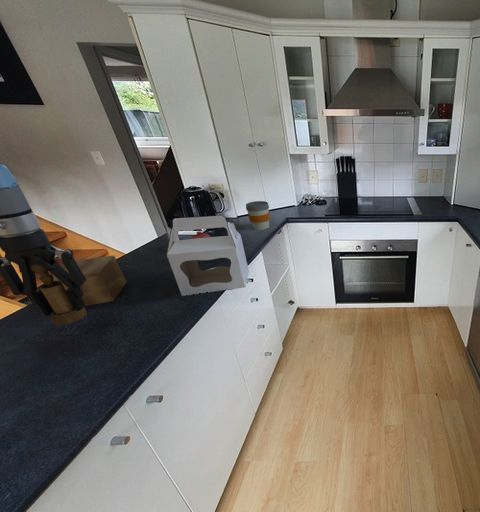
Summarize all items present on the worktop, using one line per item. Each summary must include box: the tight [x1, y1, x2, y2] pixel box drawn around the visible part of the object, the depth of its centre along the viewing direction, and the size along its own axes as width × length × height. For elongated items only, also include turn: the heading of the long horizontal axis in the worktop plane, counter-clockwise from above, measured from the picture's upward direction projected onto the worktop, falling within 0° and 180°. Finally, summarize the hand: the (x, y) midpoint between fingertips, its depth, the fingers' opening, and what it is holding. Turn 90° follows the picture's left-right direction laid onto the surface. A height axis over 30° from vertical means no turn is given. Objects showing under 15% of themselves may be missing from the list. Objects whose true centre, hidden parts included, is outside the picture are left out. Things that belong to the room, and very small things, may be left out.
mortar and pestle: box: [30, 265, 88, 327], centre depth 72 cm, size 7×6×18 cm
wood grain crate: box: [49, 255, 127, 307], centre depth 98 cm, size 14×14×12 cm
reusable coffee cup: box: [245, 200, 271, 231], centre depth 164 cm, size 13×13×15 cm
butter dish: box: [190, 230, 211, 239], centre depth 138 cm, size 12×12×8 cm
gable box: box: [166, 214, 250, 297], centre depth 104 cm, size 22×13×28 cm, turn 108°
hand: (65, 309), depth 75 cm, fingers closed on mortar and pestle, 5 cm apart
